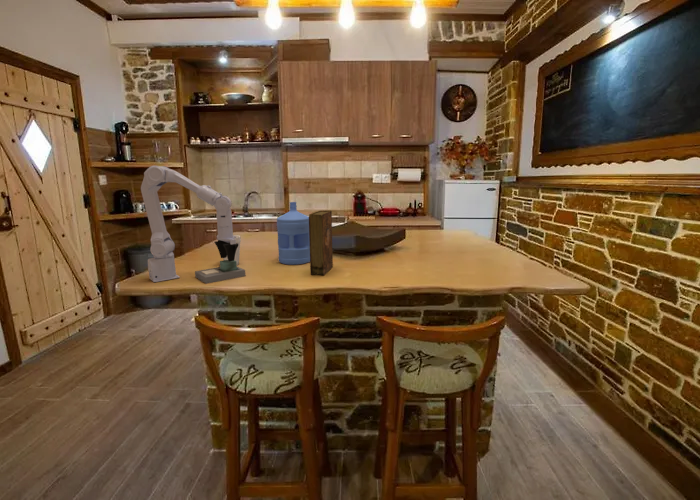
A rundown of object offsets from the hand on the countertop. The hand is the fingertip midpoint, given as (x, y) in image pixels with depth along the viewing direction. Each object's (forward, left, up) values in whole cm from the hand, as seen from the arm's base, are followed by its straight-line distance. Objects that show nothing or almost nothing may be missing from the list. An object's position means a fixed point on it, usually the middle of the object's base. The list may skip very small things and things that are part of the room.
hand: (227, 259), depth 147 cm
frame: (-3, 0, -7) cm, 8 cm away
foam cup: (+9, +17, -7) cm, 20 cm away
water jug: (+34, +2, -7) cm, 34 cm away
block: (0, 0, -7) cm, 7 cm away
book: (+33, -21, -7) cm, 39 cm away
